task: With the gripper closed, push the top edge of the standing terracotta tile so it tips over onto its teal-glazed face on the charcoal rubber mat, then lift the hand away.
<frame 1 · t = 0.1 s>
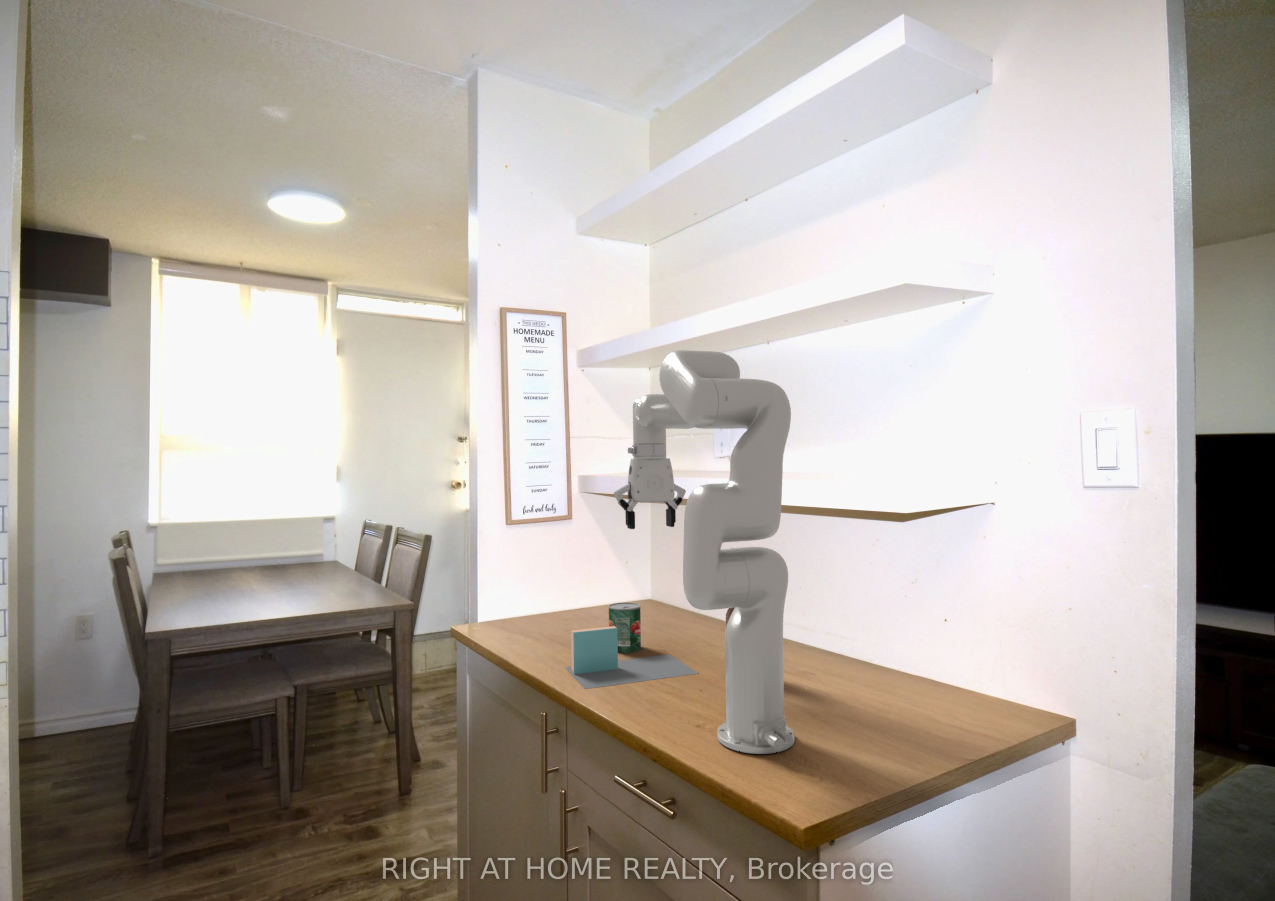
hand: (650, 527, 156), 31 cm above the worktop, tool pointing down, fingers open, 9 cm apart
tile: (594, 670, 151), resting on mat
canned tomato: (625, 651, 168), on the worktop
mat: (630, 672, 150), on the worktop
sauce bottle: (741, 677, 146), on the worktop
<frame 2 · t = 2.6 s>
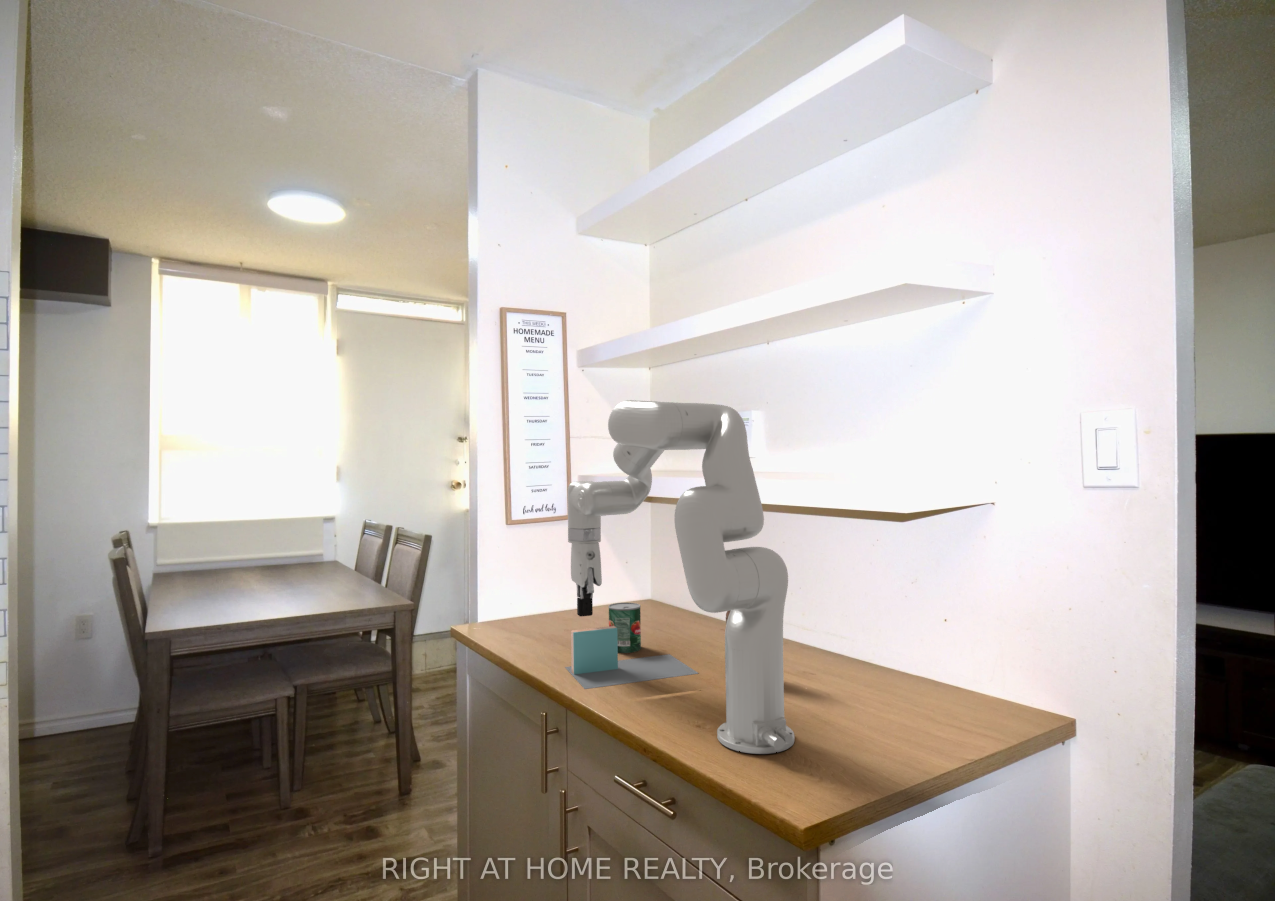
hand: (584, 615, 157), 11 cm above the worktop, tool pointing down, fingers closed
nothing on the worktop moved.
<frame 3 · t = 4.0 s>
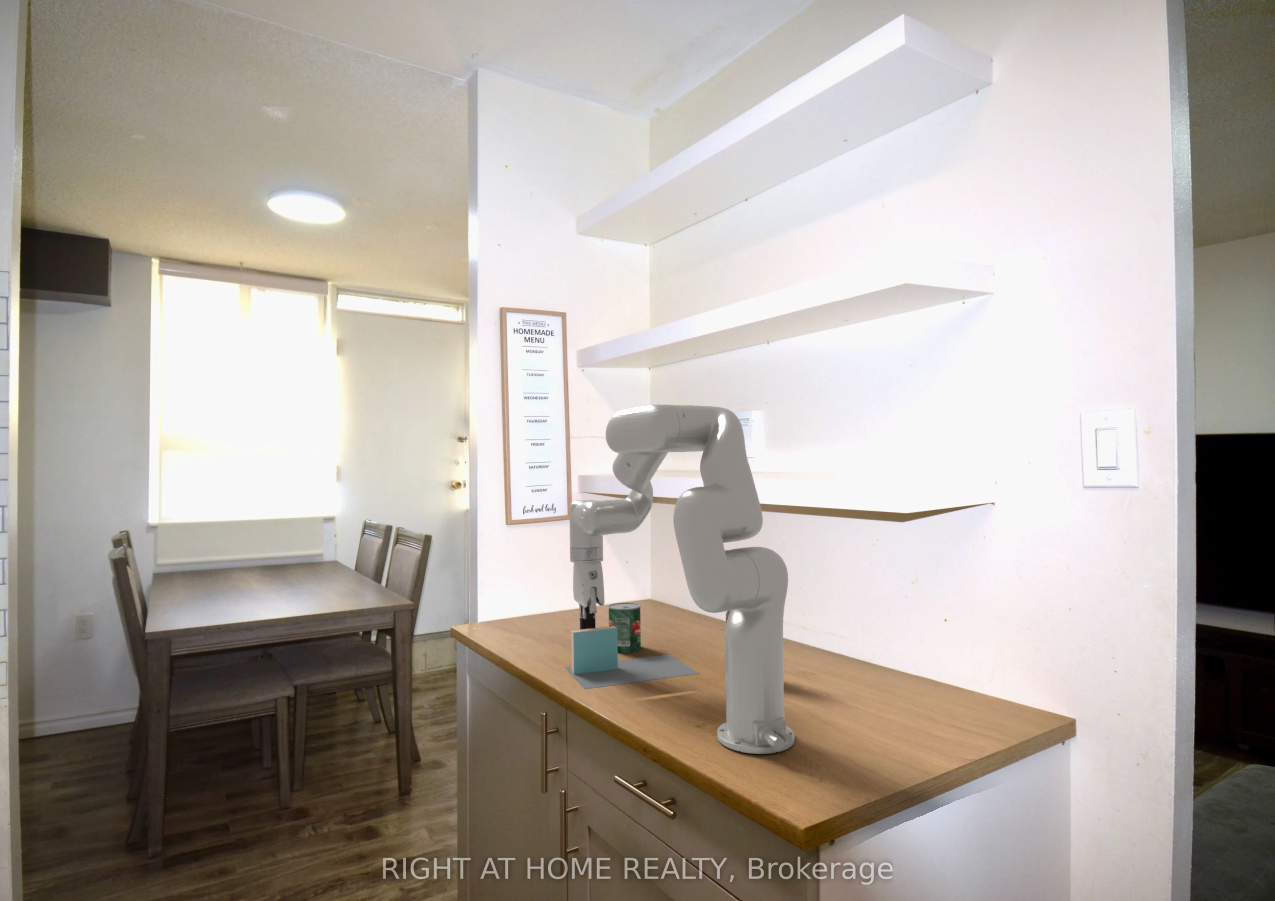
hand: (587, 635, 155), 7 cm above the worktop, tool pointing down, fingers closed
nothing on the worktop moved.
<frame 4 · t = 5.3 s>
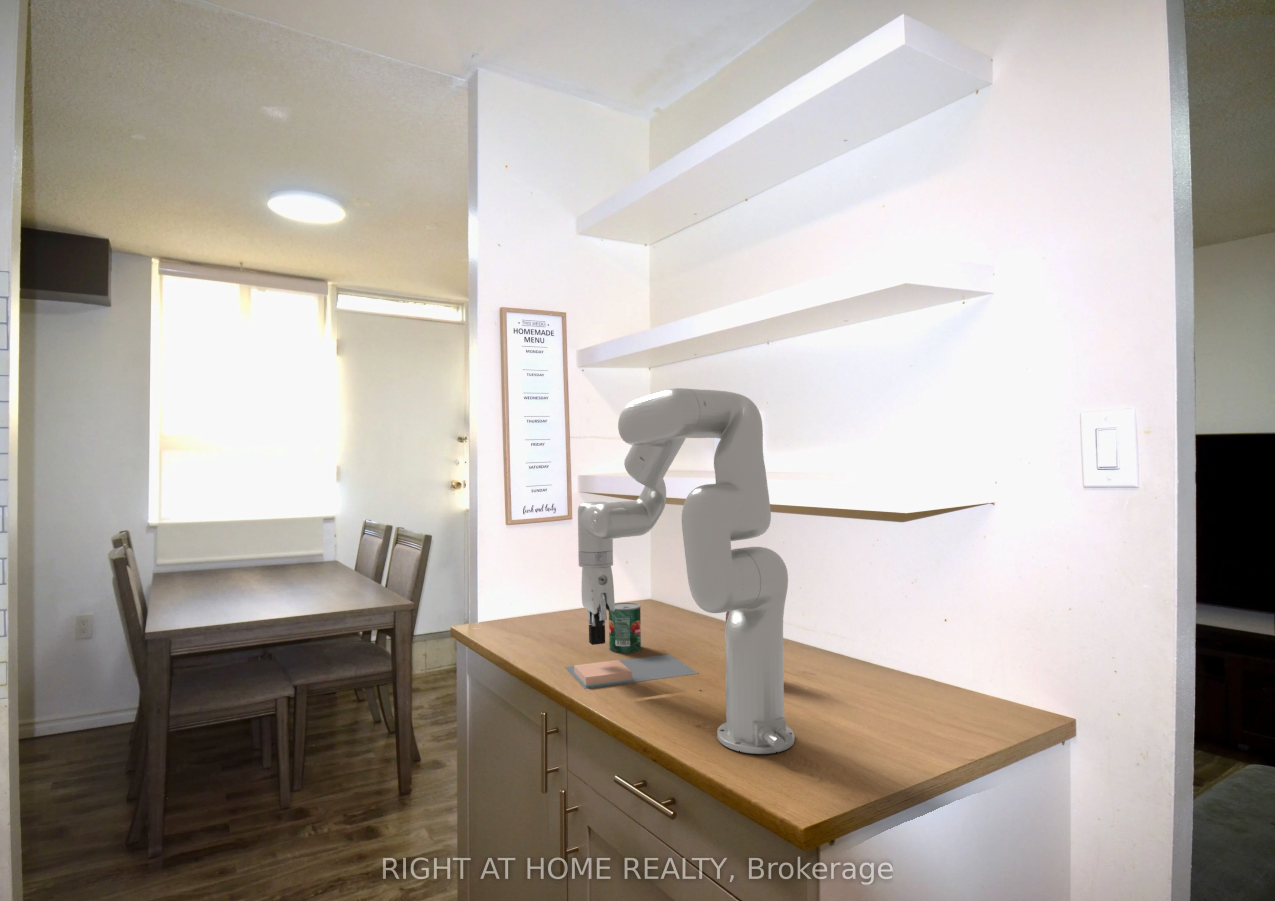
hand: (597, 643, 149), 7 cm above the worktop, tool pointing down, fingers closed
tile: (596, 667, 149), point 1 cm above the worktop, tilted 90°, touching mat
everything else where it was.
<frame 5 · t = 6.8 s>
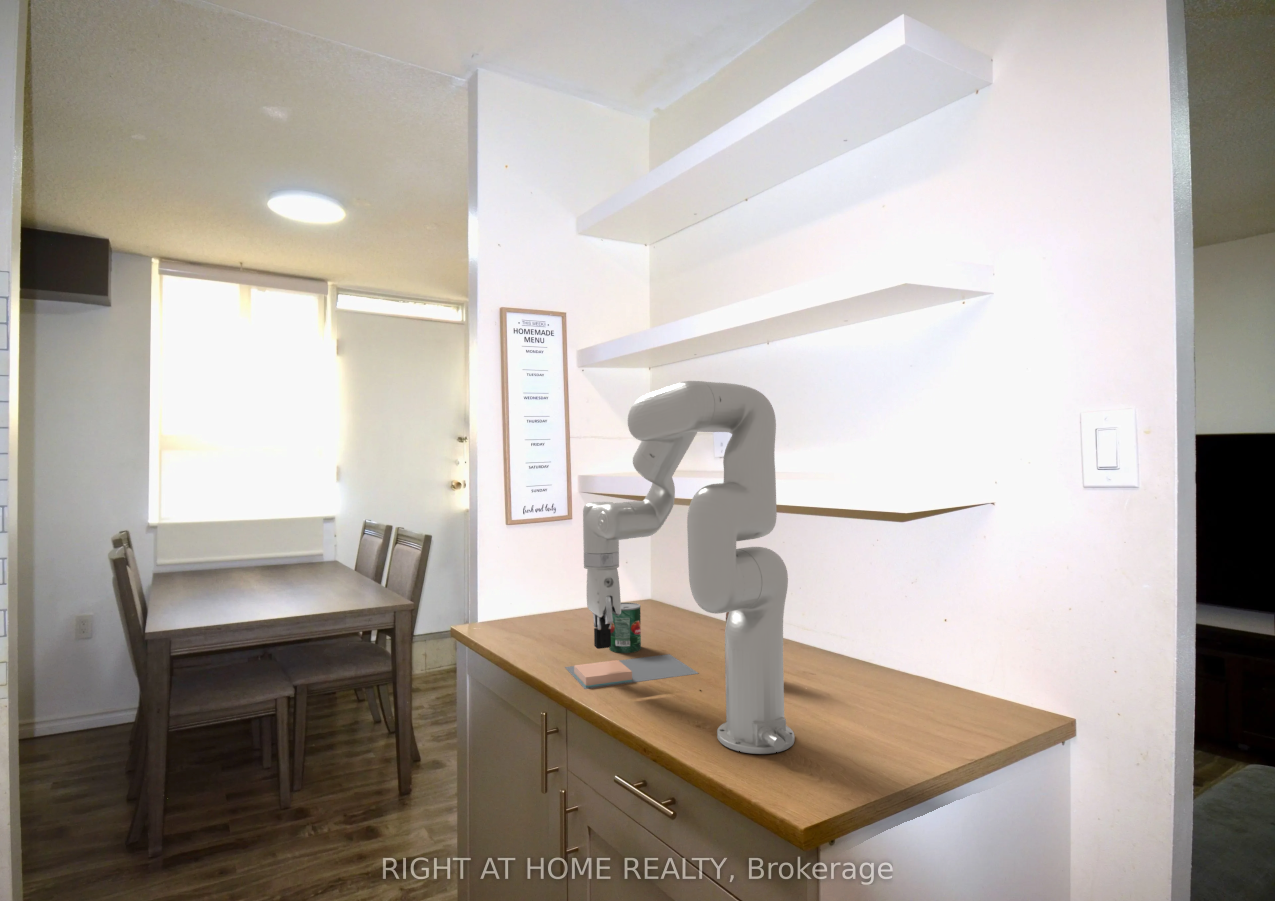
hand: (602, 646, 145), 7 cm above the worktop, tool pointing down, fingers closed
nothing on the worktop moved.
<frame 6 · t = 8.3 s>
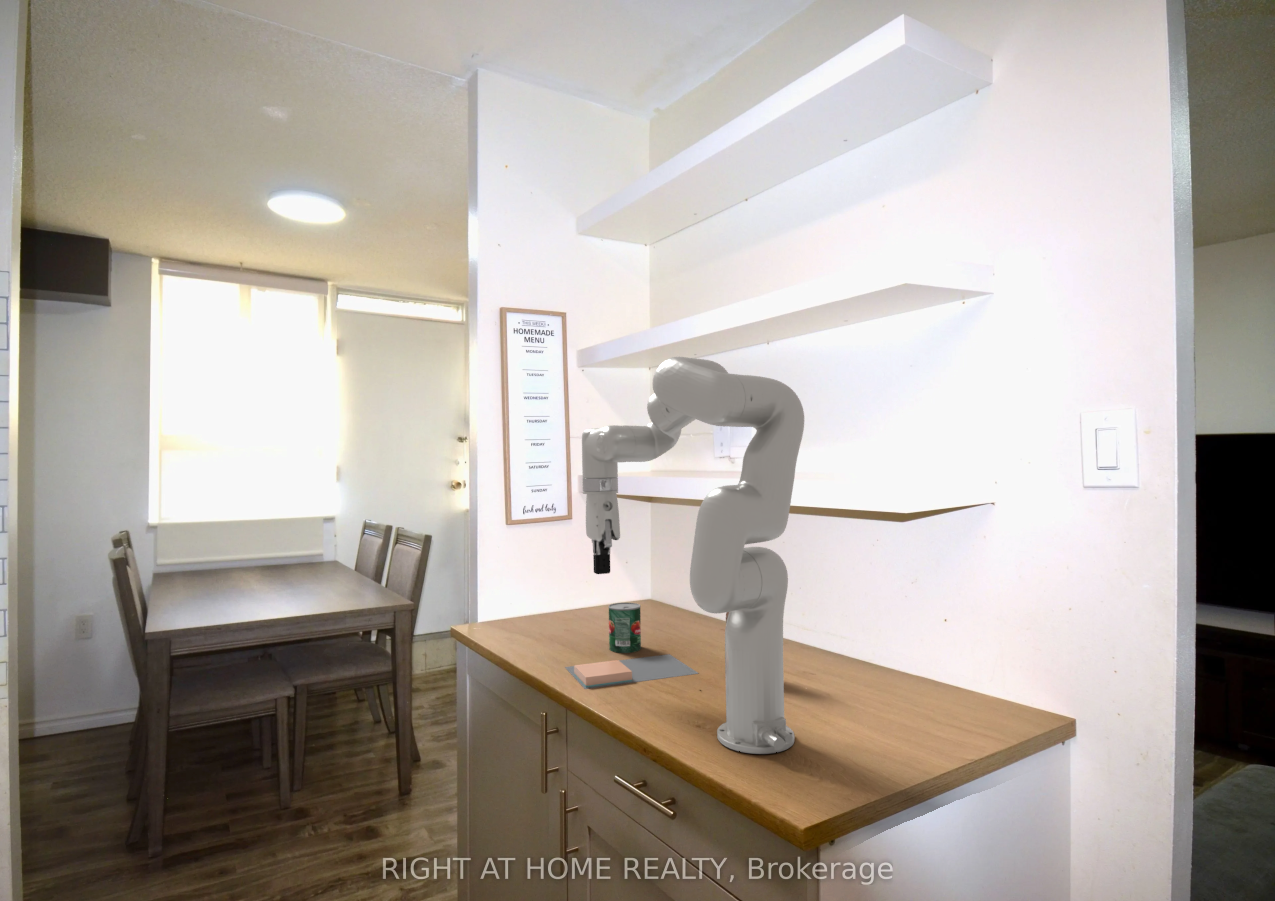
hand: (602, 572, 145), 23 cm above the worktop, tool pointing down, fingers closed
nothing on the worktop moved.
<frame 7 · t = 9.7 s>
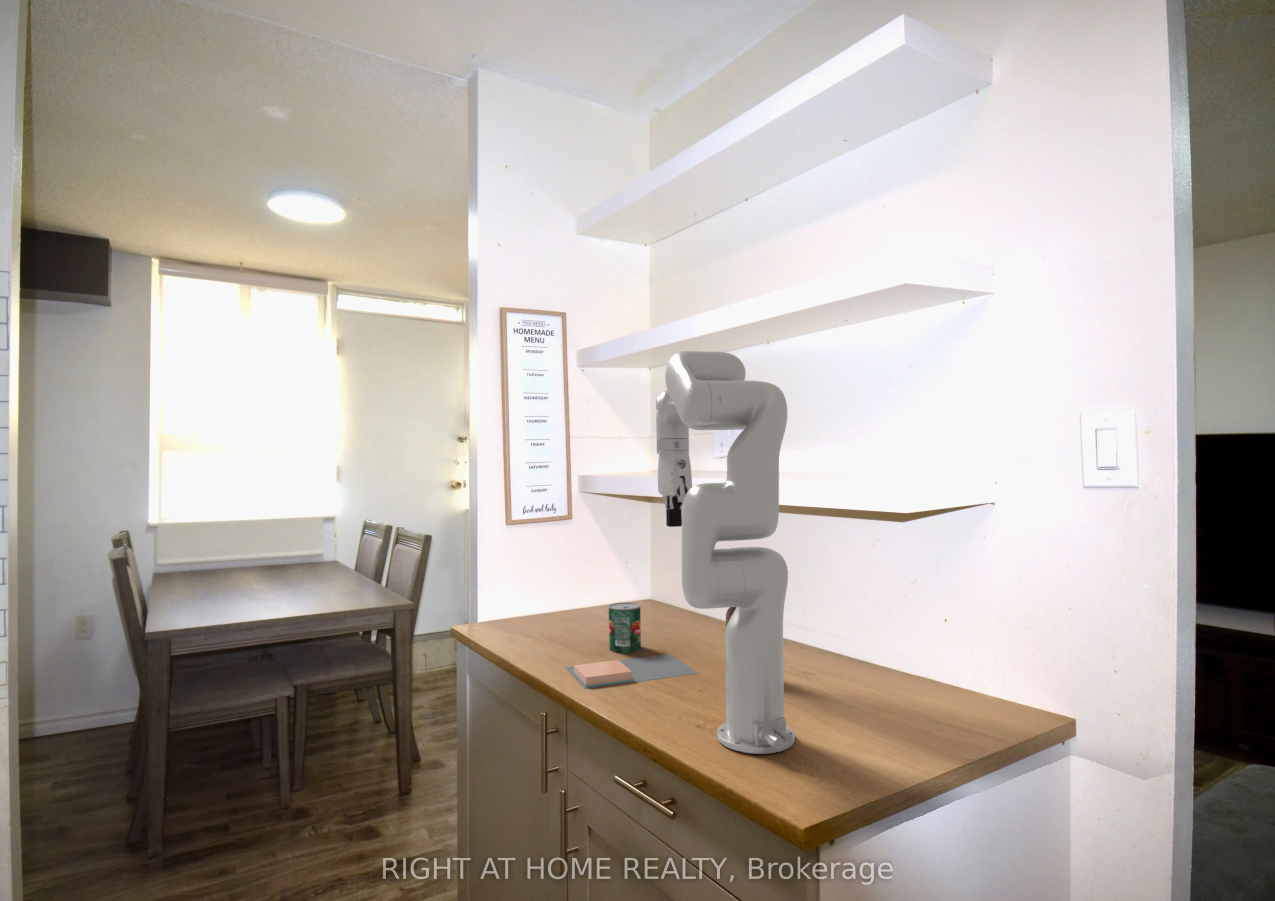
hand: (674, 526, 159), 31 cm above the worktop, tool pointing down, fingers closed
nothing on the worktop moved.
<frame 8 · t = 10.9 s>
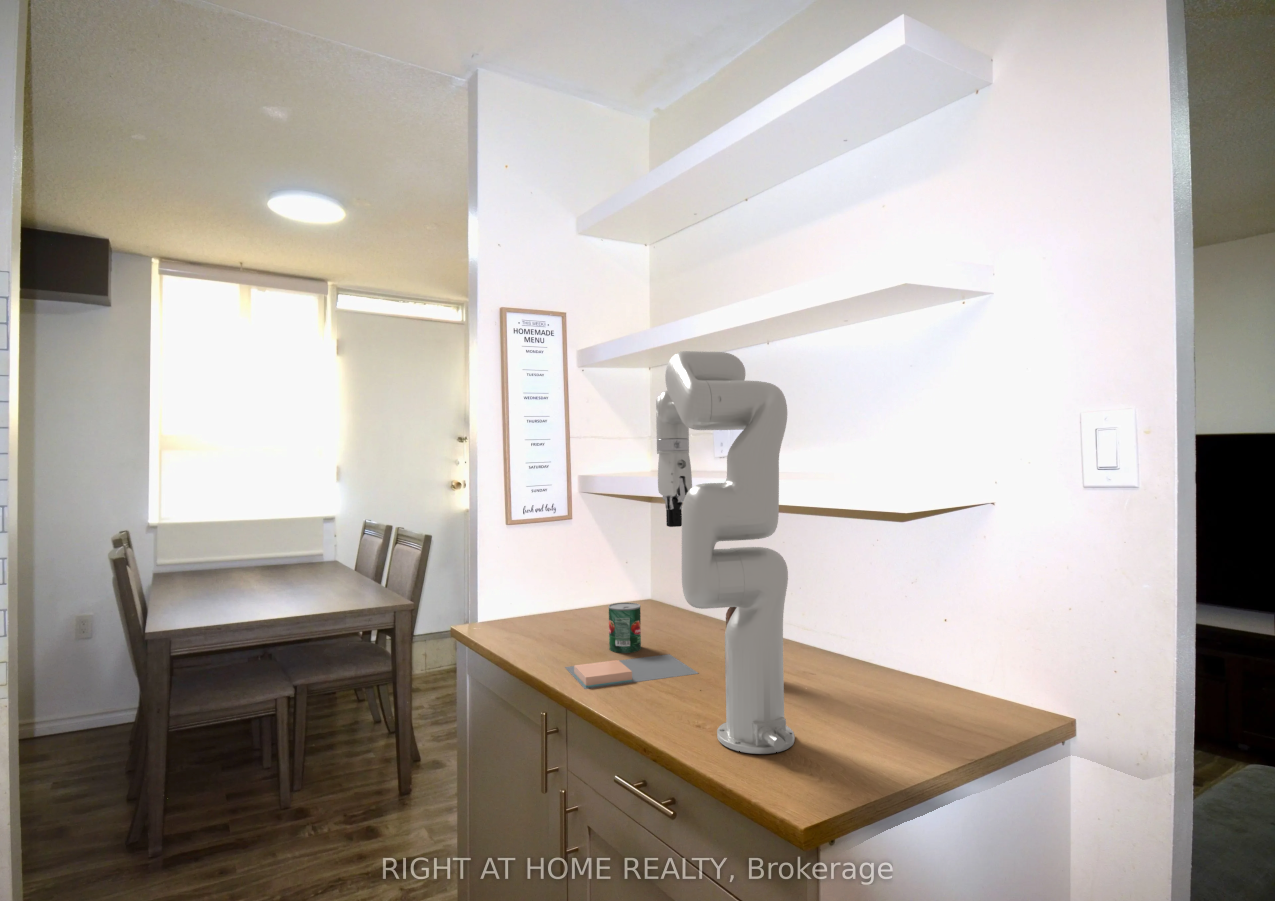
hand: (674, 526, 159), 31 cm above the worktop, tool pointing down, fingers closed
nothing on the worktop moved.
at the end: tile tilted 90°; tile inside the target area (1.7 cm from its centre), point 1.5 cm above the worktop; tile touching mat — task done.
